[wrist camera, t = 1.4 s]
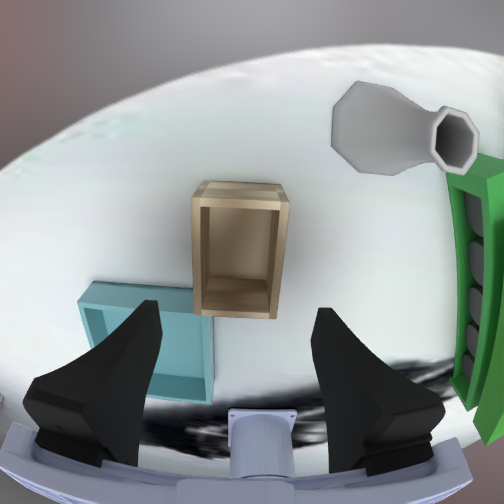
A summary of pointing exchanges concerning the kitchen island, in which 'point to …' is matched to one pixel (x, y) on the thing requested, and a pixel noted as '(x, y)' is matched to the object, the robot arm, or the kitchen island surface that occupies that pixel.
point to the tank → (480, 292)
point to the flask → (400, 133)
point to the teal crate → (173, 340)
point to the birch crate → (238, 248)
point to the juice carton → (1, 402)
